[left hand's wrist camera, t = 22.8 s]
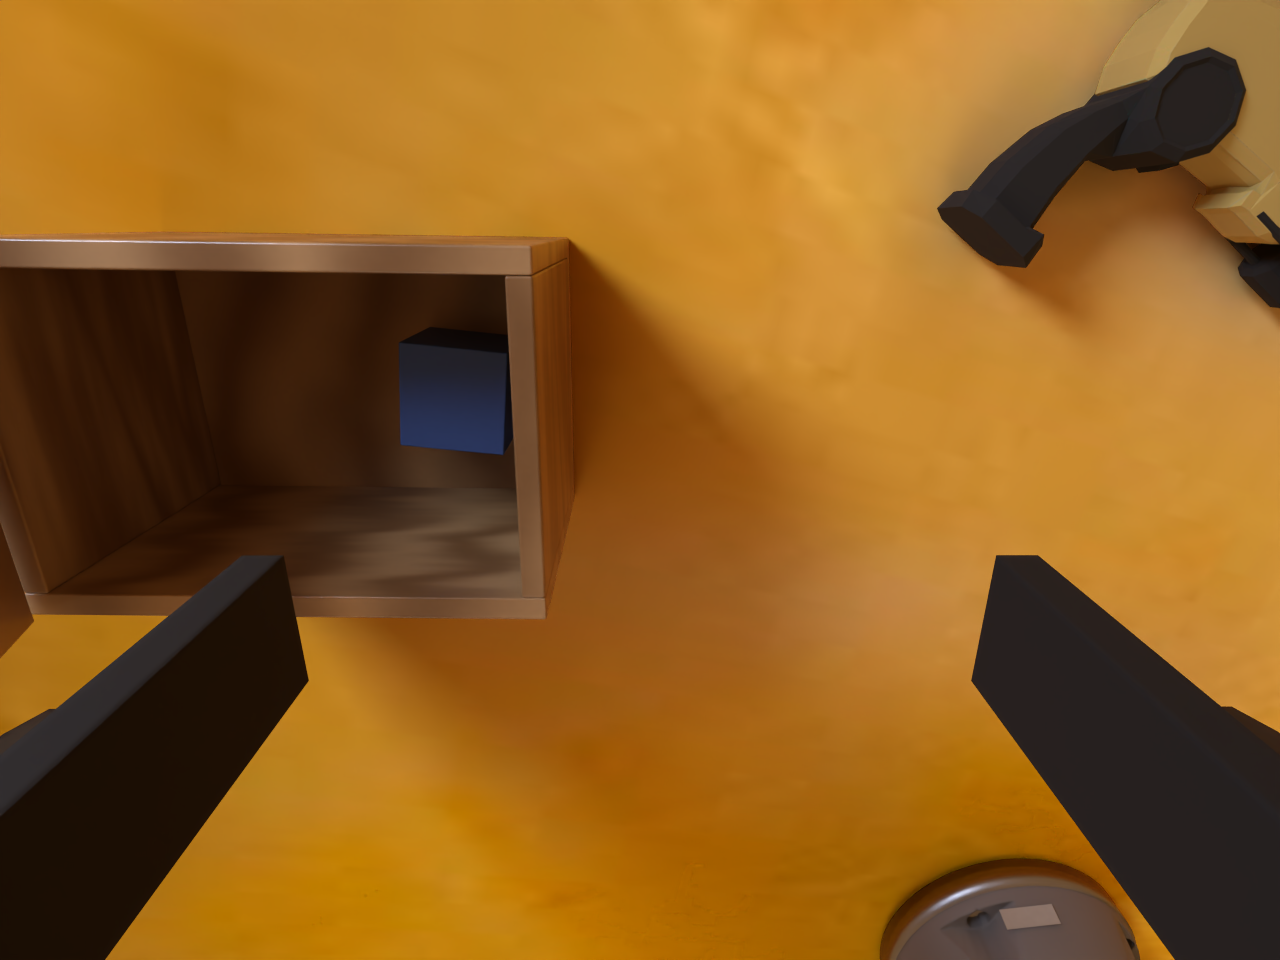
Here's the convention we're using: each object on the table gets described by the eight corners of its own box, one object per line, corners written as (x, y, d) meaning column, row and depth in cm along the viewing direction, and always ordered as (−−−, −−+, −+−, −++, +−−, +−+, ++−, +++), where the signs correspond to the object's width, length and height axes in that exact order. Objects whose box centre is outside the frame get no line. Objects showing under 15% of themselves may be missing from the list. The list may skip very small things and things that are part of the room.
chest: (568, 237, 30) (531, 245, 19) (574, 498, 34) (546, 619, 24) (160, 231, 30) (-99, 236, 19) (217, 494, 34) (30, 614, 23)
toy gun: (1319, 535, 29) (1678, 241, 25) (888, 123, 24) (1254, -331, 20) (1235, 496, 34) (1531, 240, 30) (852, 139, 28) (1148, -234, 24)
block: (524, 336, 30) (507, 353, 26) (520, 427, 32) (503, 455, 28) (429, 326, 30) (398, 341, 26) (429, 418, 32) (399, 445, 28)
